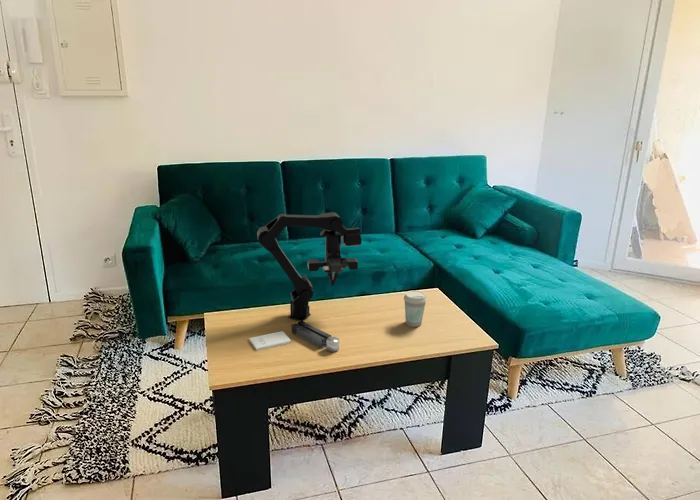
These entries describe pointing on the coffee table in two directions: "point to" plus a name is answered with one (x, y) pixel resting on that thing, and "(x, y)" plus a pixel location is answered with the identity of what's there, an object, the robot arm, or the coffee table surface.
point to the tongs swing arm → (330, 341)
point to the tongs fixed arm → (308, 335)
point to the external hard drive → (269, 340)
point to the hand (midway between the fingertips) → (332, 285)
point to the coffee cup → (414, 307)
